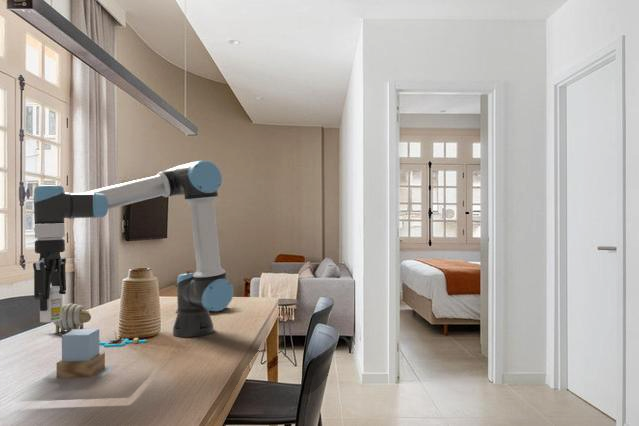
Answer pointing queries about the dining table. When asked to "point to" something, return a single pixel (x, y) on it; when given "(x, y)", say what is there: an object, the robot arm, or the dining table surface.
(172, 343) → the dining table surface
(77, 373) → the base brick
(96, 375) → the board
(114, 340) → the gear mechanism
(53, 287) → the supplement bottle
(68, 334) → the blue cube
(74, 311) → the toy sheep
